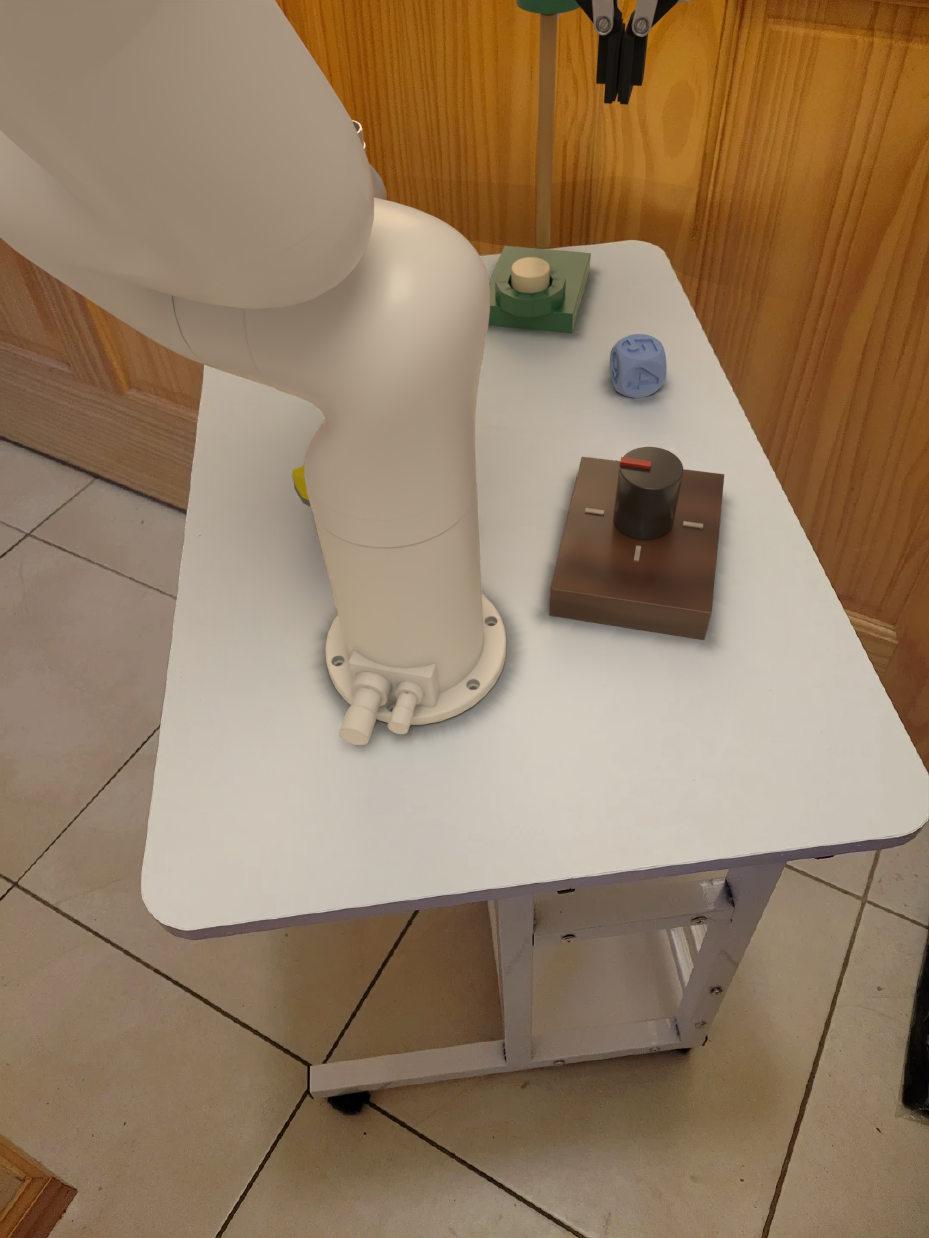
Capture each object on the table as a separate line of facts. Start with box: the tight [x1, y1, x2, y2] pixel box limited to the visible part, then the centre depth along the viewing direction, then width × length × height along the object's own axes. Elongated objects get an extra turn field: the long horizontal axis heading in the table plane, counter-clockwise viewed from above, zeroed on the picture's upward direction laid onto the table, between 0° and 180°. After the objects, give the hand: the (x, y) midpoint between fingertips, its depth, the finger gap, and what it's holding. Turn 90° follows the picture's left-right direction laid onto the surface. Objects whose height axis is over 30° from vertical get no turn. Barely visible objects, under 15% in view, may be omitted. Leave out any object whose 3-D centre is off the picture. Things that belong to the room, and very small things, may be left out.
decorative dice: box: [609, 333, 668, 399], centre depth 79 cm, size 4×4×4 cm
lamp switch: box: [511, 257, 550, 293], centre depth 84 cm, size 4×4×2 cm
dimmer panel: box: [548, 456, 725, 641], centre depth 66 cm, size 14×11×3 cm
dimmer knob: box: [613, 446, 684, 540], centre depth 64 cm, size 4×4×5 cm
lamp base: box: [488, 245, 592, 334], centre depth 88 cm, size 12×9×4 cm
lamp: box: [516, 0, 581, 249], centre depth 79 cm, size 6×6×26 cm
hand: (618, 95), depth 60 cm, fingers closed
